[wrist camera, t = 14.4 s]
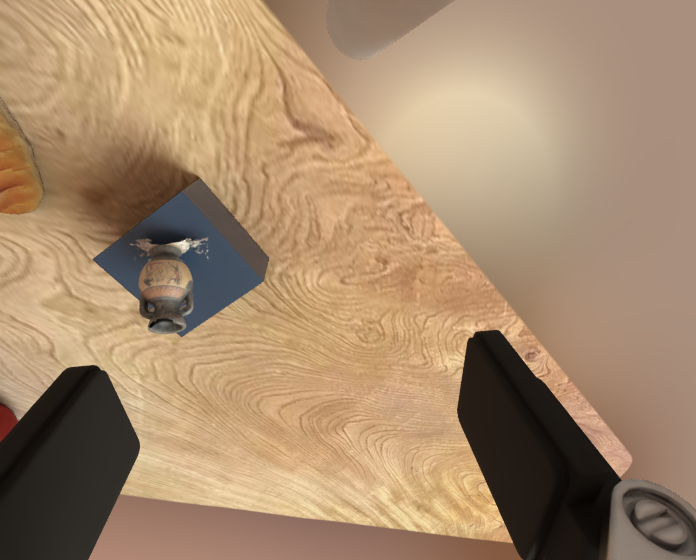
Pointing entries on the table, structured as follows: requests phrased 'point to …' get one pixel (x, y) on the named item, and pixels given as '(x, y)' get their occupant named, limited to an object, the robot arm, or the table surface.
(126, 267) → the block
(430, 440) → the table surface
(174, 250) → the vase
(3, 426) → the apple
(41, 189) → the pastry
